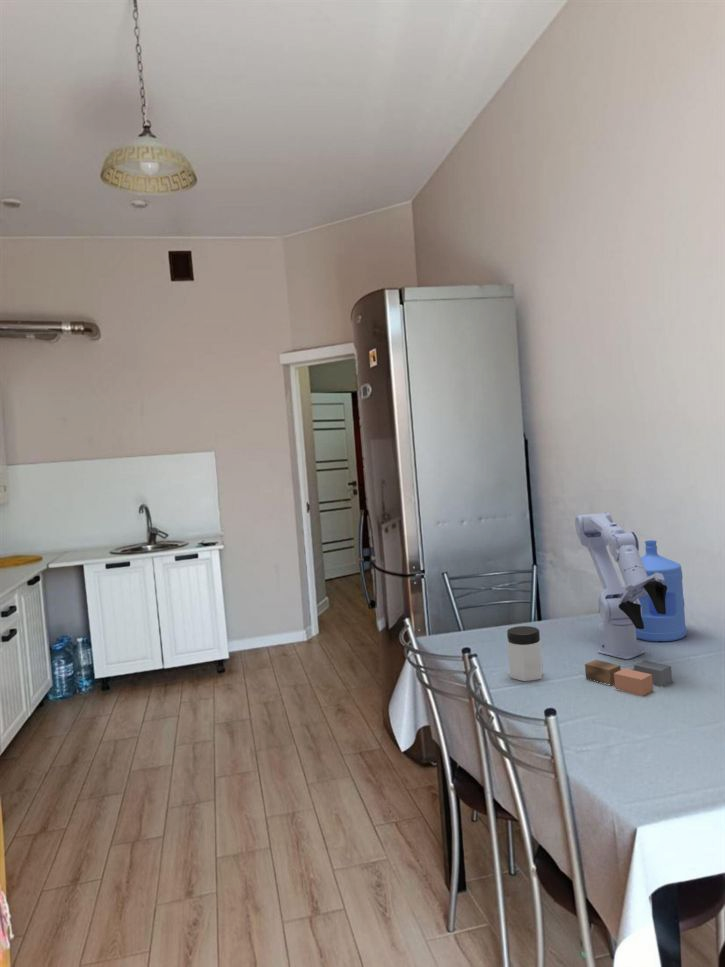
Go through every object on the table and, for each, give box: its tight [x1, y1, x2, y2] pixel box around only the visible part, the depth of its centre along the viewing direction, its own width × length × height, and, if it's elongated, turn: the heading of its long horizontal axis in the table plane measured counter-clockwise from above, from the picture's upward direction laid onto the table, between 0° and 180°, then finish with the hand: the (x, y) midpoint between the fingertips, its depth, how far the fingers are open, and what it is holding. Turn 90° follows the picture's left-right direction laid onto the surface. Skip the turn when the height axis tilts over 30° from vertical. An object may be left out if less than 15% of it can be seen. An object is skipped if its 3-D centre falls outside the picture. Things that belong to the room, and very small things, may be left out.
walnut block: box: [584, 659, 622, 686], centre depth 164 cm, size 7×4×4 cm, turn 34°
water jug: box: [636, 539, 687, 642], centre depth 195 cm, size 16×16×28 cm
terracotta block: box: [614, 668, 654, 697], centre depth 156 cm, size 7×4×4 cm, turn 38°
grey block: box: [633, 659, 673, 687], centre depth 160 cm, size 7×4×4 cm, turn 35°
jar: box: [506, 625, 544, 682], centre depth 171 cm, size 9×8×12 cm
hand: (650, 620), depth 159 cm, fingers open, 7 cm apart
